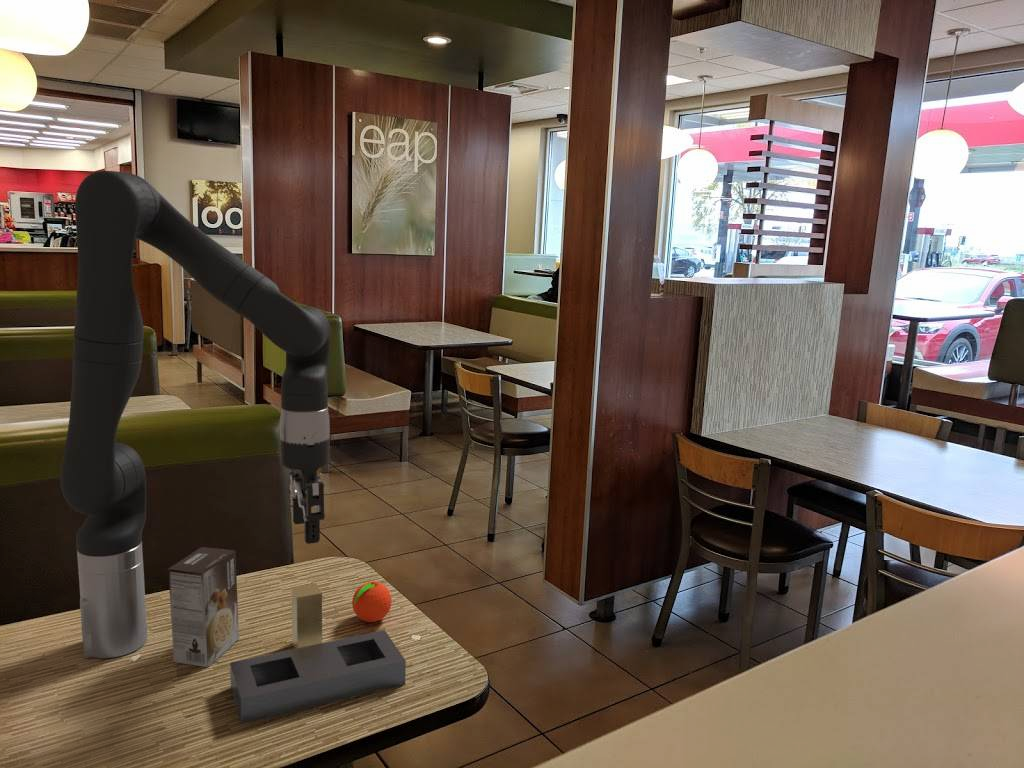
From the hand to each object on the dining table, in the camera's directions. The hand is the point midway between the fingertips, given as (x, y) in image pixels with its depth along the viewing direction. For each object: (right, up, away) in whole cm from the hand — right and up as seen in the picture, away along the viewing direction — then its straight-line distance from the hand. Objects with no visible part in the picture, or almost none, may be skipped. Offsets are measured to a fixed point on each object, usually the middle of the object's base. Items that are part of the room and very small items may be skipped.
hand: (305, 532), depth 124 cm
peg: (-1, -20, +4) cm, 20 cm away
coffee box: (-16, -20, +1) cm, 26 cm away
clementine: (+8, -18, +13) cm, 24 cm away
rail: (+4, -22, -7) cm, 23 cm away
